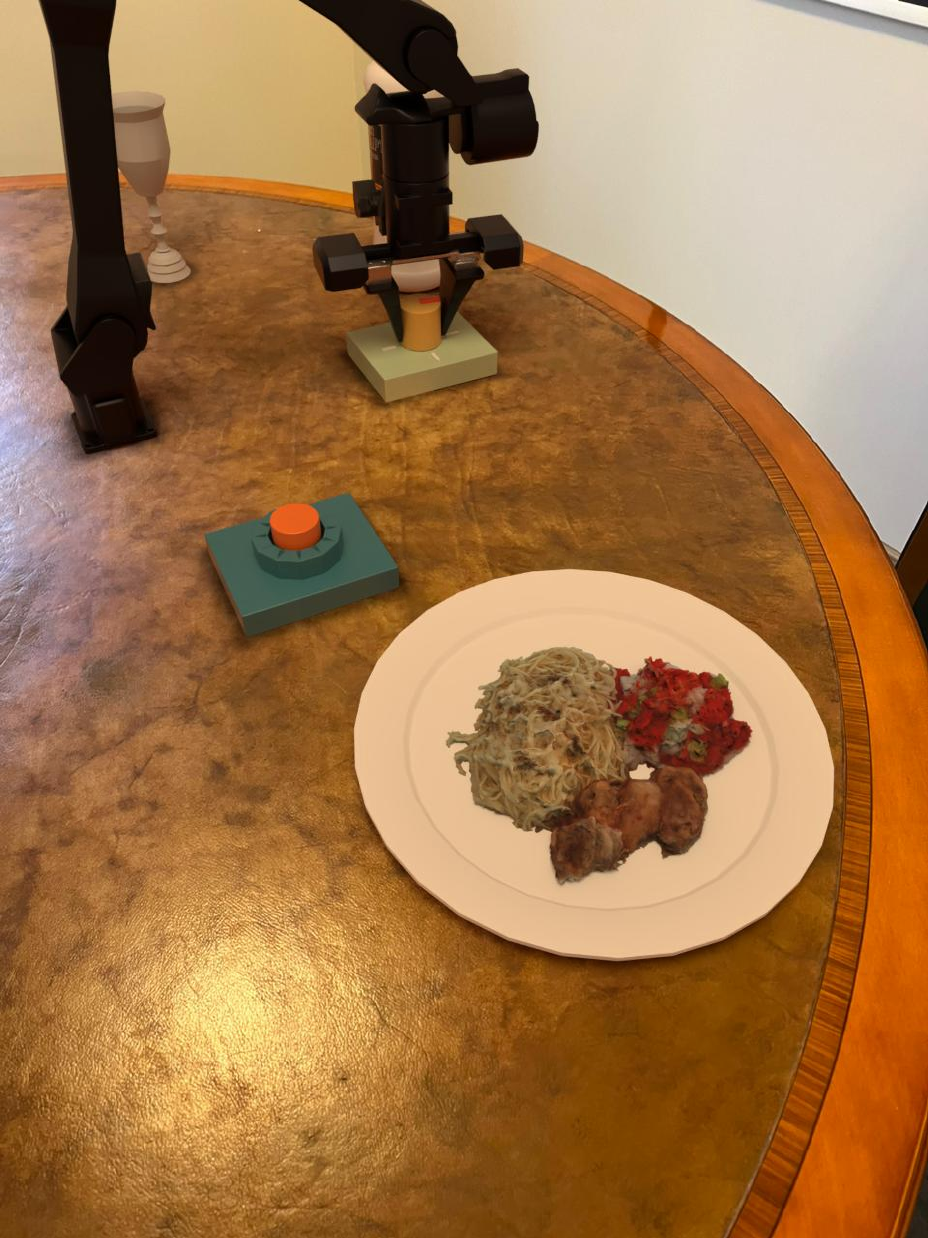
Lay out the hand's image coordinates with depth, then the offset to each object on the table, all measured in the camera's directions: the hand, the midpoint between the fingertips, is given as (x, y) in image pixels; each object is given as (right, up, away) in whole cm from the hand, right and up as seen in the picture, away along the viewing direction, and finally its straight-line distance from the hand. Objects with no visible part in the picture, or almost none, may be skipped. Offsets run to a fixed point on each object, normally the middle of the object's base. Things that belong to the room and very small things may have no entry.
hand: (421, 336), depth 91 cm
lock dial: (0, 0, 0) cm, 0 cm away
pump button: (-8, -22, -22) cm, 32 cm away
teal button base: (-8, -24, -19) cm, 32 cm away
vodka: (-2, +12, +16) cm, 20 cm away
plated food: (+12, -36, -31) cm, 49 cm away
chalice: (-30, +12, +16) cm, 36 cm away
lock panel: (0, -2, +2) cm, 3 cm away
